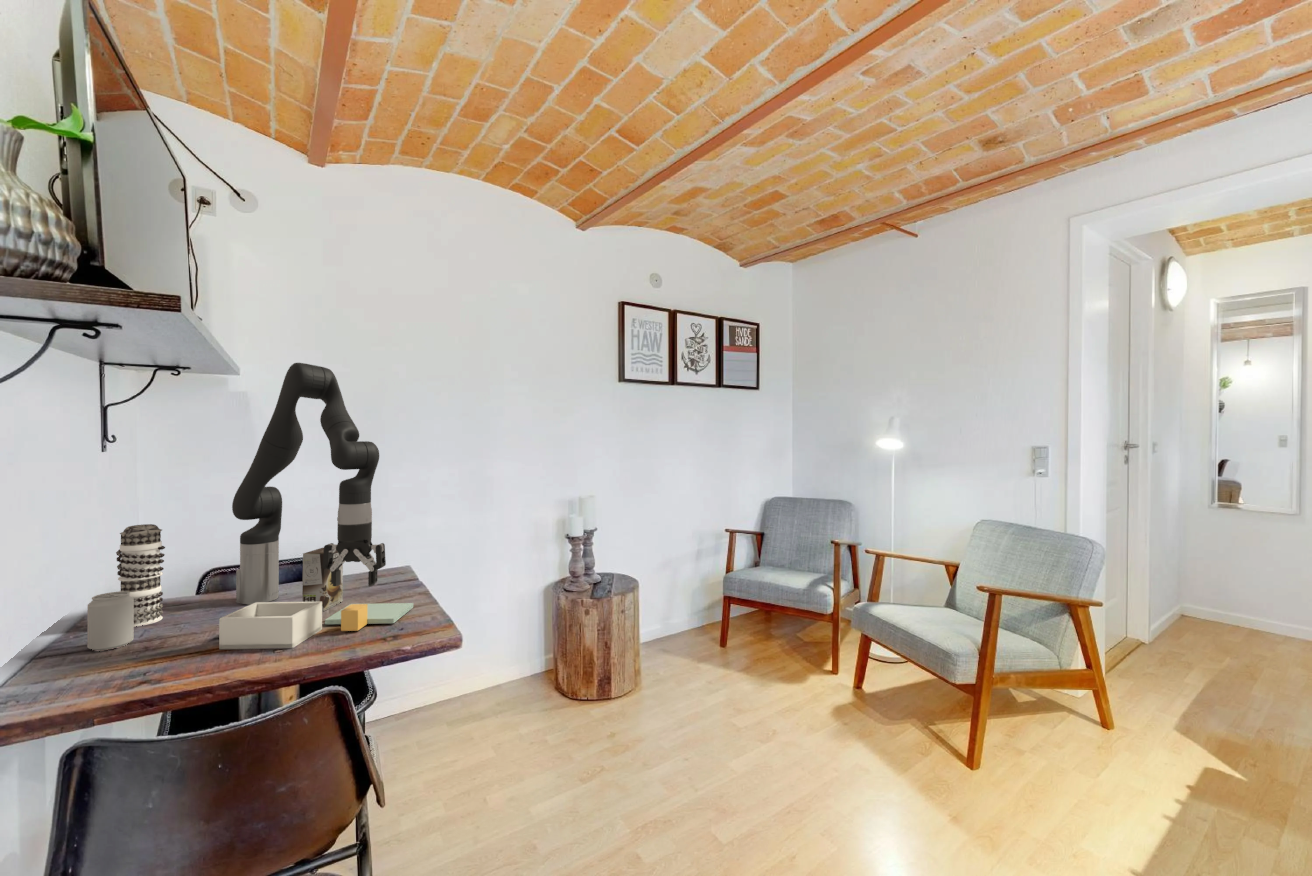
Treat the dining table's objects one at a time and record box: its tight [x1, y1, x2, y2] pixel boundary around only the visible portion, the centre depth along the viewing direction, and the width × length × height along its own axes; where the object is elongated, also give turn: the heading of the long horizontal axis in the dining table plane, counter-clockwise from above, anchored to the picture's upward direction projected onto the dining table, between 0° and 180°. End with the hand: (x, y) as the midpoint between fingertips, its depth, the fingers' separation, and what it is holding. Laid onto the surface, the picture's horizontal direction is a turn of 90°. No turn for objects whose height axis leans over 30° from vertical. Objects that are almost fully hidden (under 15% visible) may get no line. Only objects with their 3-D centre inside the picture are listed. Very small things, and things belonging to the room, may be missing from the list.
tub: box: [218, 601, 323, 650], centre depth 129 cm, size 16×12×7 cm
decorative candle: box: [115, 523, 166, 628], centre depth 141 cm, size 9×9×25 cm
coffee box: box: [301, 547, 344, 612], centre depth 154 cm, size 9×6×16 cm
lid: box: [324, 602, 414, 632], centre depth 142 cm, size 17×18×6 cm
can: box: [86, 590, 135, 651], centre depth 124 cm, size 8×8×12 cm
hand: (354, 585), depth 136 cm, fingers open, 8 cm apart
